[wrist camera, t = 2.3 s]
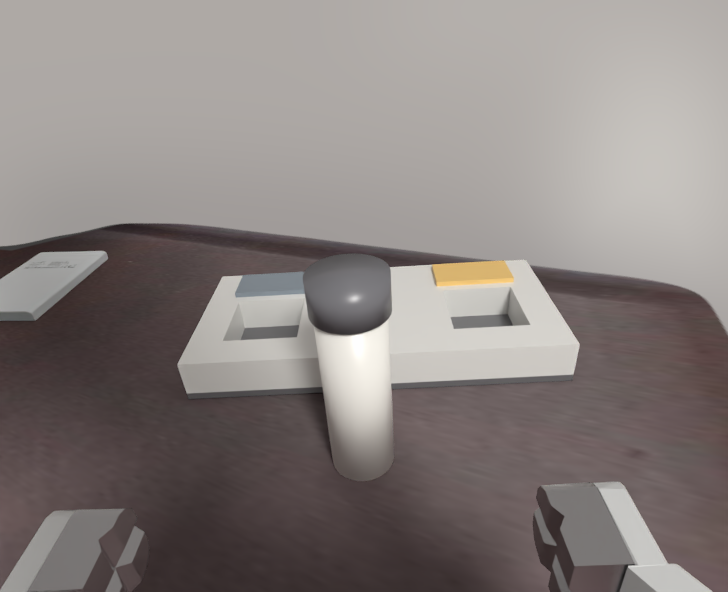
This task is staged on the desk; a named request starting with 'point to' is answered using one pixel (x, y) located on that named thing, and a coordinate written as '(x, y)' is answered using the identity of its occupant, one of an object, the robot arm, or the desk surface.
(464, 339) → the socket board
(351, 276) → the grey capped white cylinder
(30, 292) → the external hard drive
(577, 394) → the desk surface
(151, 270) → the desk surface
